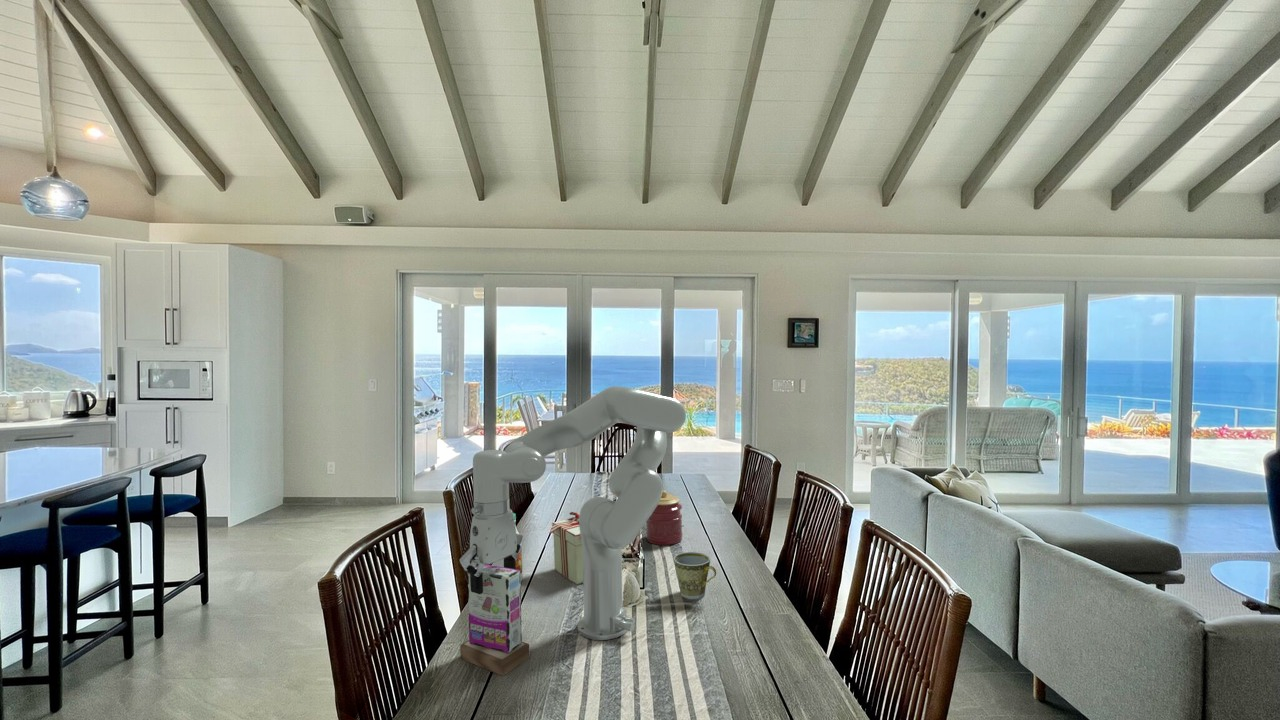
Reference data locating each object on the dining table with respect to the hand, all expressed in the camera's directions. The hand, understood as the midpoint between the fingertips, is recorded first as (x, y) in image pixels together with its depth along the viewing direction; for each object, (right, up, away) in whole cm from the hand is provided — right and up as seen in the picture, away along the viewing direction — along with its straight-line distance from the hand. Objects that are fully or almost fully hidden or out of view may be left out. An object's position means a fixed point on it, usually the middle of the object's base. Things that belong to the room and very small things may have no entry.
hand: (493, 584), depth 122 cm
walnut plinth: (0, -17, 0) cm, 17 cm away
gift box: (+15, -16, +46) cm, 51 cm away
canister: (+41, -15, +75) cm, 87 cm away
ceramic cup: (+48, -15, +29) cm, 58 cm away
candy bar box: (0, -14, 0) cm, 14 cm away
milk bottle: (-6, -16, +41) cm, 44 cm away
